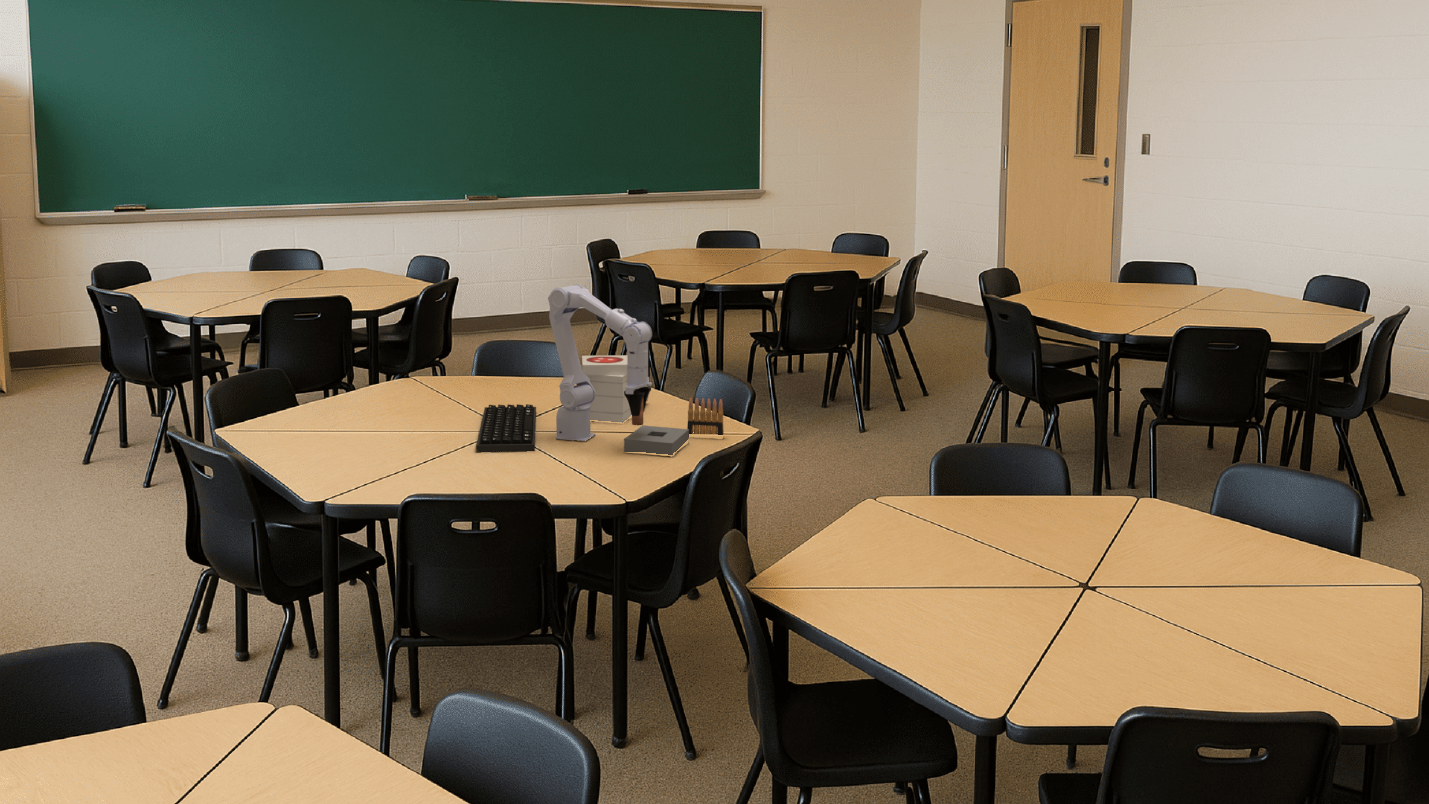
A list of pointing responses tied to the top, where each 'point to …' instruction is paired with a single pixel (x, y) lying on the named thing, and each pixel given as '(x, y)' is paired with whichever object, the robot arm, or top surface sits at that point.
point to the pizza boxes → (608, 387)
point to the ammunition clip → (705, 417)
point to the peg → (638, 417)
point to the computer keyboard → (507, 429)
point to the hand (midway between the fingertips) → (637, 414)
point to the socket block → (656, 440)
